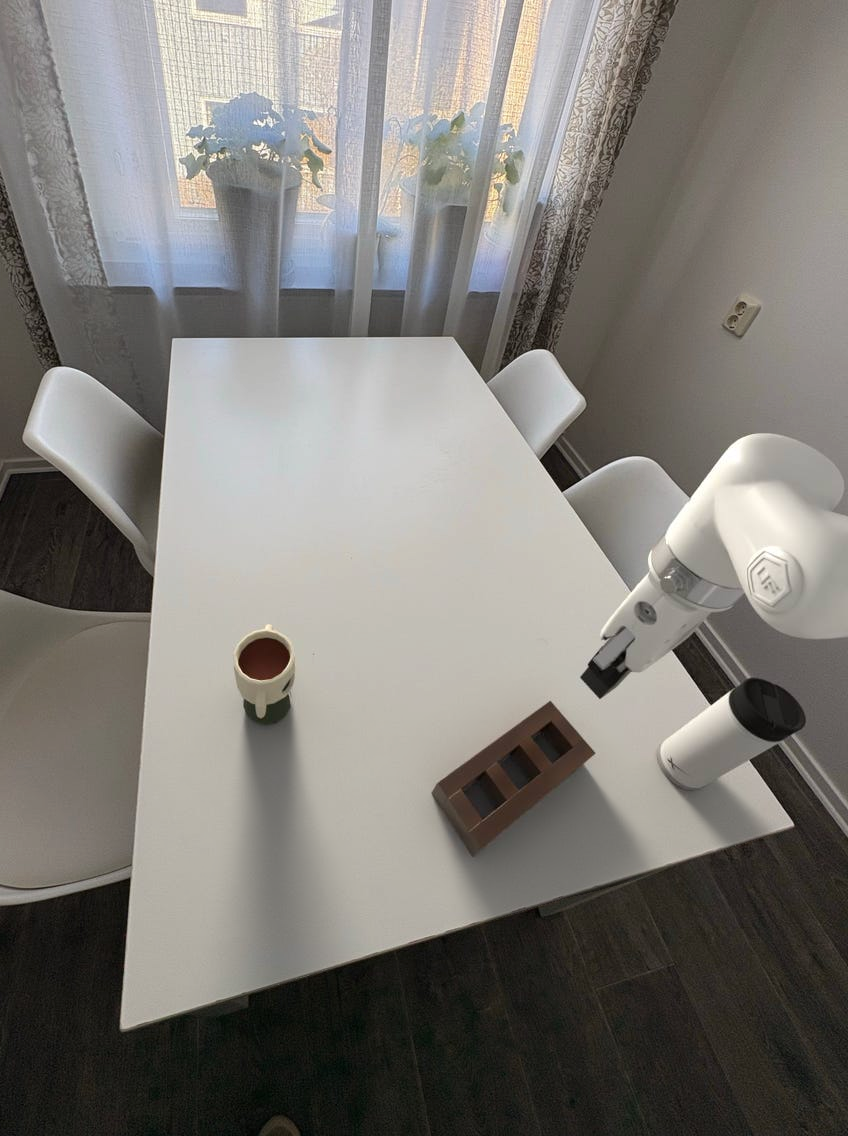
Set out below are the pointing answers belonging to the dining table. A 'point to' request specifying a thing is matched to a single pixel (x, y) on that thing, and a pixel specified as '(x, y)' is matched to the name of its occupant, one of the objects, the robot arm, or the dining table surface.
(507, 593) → the dining table surface
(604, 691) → the peg
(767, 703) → the travel mug
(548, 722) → the holder
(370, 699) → the dining table surface
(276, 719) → the character mug
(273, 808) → the dining table surface
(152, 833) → the dining table surface
